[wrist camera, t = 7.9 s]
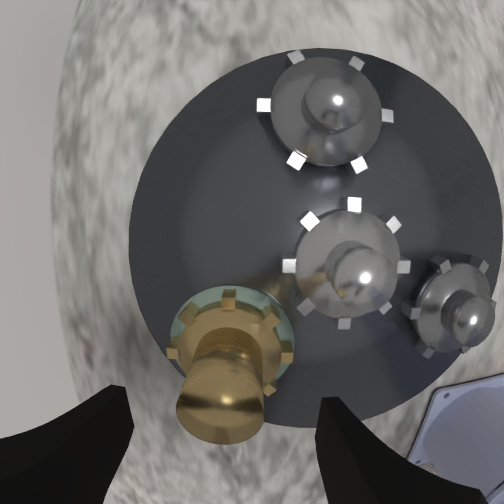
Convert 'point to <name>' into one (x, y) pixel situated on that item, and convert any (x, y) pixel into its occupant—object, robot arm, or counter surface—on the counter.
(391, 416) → the counter surface
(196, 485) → the counter surface
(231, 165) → the carrier plate
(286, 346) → the planet gear
